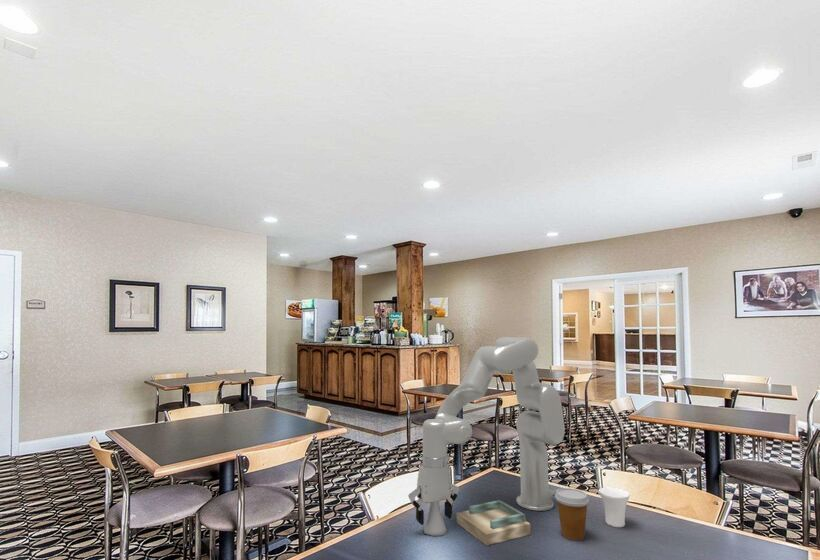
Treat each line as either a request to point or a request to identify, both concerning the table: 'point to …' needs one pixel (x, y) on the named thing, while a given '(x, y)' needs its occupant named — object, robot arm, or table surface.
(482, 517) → the dock
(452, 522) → the table surface
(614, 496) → the cup
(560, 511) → the disposable coffee cup
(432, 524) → the flask
